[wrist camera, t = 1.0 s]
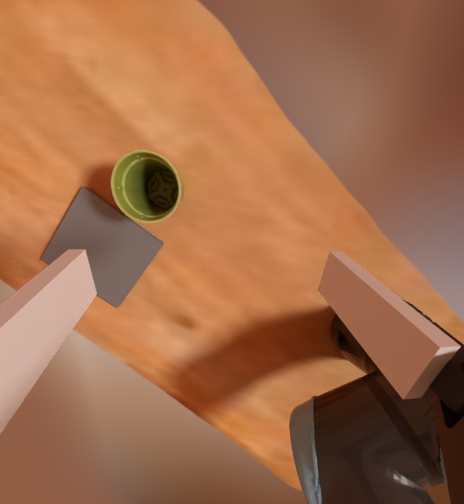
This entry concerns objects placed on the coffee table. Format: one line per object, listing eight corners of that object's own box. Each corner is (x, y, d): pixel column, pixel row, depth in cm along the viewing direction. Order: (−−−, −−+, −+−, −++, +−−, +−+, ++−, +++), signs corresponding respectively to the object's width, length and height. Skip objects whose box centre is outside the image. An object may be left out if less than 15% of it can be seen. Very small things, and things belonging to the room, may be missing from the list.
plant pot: (133, 207, 38) (104, 210, 29) (144, 152, 36) (117, 138, 27) (184, 224, 39) (170, 232, 30) (199, 171, 36) (189, 164, 28)
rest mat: (164, 243, 39) (162, 244, 38) (119, 305, 43) (116, 308, 42) (86, 186, 37) (82, 186, 36) (45, 257, 40) (40, 259, 39)
